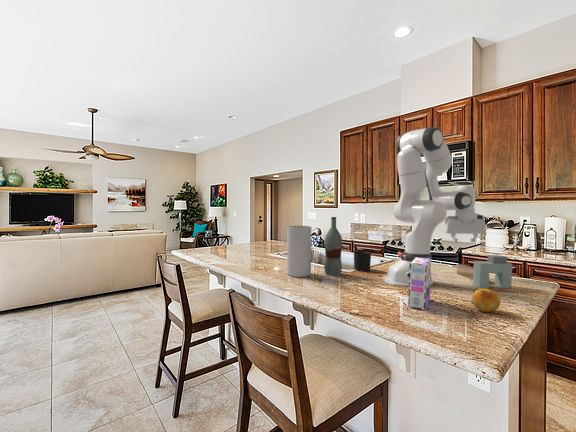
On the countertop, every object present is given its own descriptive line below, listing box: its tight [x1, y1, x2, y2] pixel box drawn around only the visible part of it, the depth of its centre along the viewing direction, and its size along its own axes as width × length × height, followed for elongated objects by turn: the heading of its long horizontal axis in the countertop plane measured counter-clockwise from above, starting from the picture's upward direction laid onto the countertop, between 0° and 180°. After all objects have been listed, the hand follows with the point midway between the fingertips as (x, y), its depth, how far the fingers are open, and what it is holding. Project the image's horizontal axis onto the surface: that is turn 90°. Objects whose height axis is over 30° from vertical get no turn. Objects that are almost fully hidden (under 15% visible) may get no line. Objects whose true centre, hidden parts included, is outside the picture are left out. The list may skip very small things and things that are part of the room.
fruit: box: [471, 288, 501, 313], centre depth 105 cm, size 8×8×8 cm
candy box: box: [407, 258, 432, 311], centre depth 112 cm, size 14×6×16 cm, turn 148°
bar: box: [456, 263, 474, 281], centre depth 151 cm, size 4×20×5 cm, turn 0°
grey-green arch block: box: [472, 254, 513, 289], centre depth 136 cm, size 14×5×14 cm, turn 90°
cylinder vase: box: [286, 225, 312, 278], centre depth 155 cm, size 12×12×25 cm
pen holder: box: [353, 250, 372, 272], centre depth 168 cm, size 9×9×10 cm
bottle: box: [323, 216, 343, 277], centre depth 157 cm, size 9×9×30 cm
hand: (464, 242), depth 159 cm, fingers open, 8 cm apart
